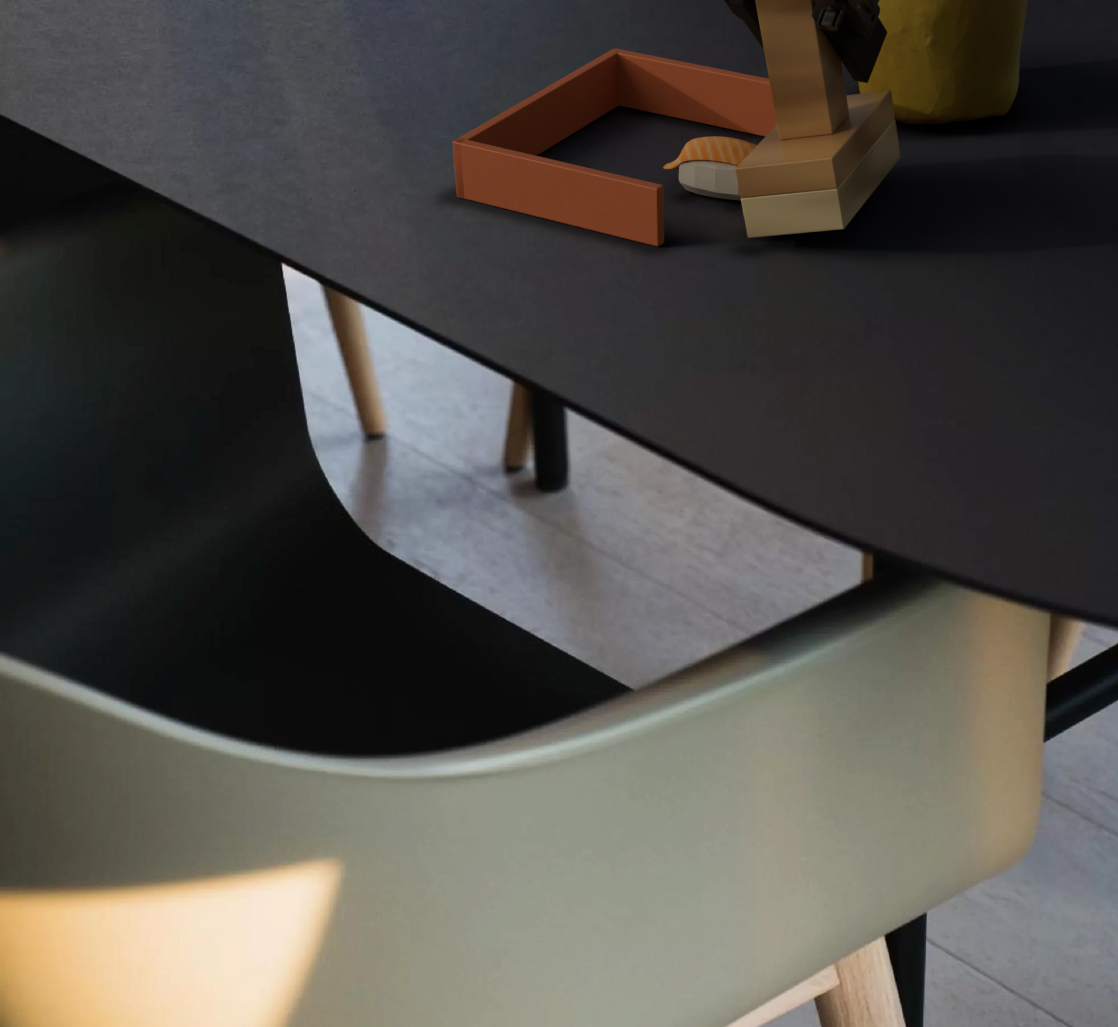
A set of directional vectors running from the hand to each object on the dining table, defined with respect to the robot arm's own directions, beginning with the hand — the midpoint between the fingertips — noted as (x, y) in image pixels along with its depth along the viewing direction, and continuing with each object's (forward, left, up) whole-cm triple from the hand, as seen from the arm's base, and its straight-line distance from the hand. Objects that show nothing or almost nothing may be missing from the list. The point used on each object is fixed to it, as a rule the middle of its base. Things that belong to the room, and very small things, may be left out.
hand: (830, 49), depth 103 cm
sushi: (+4, +4, -7) cm, 9 cm away
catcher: (+9, +4, -7) cm, 12 cm away
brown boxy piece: (-2, +4, -6) cm, 7 cm away
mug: (0, -13, -7) cm, 15 cm away
